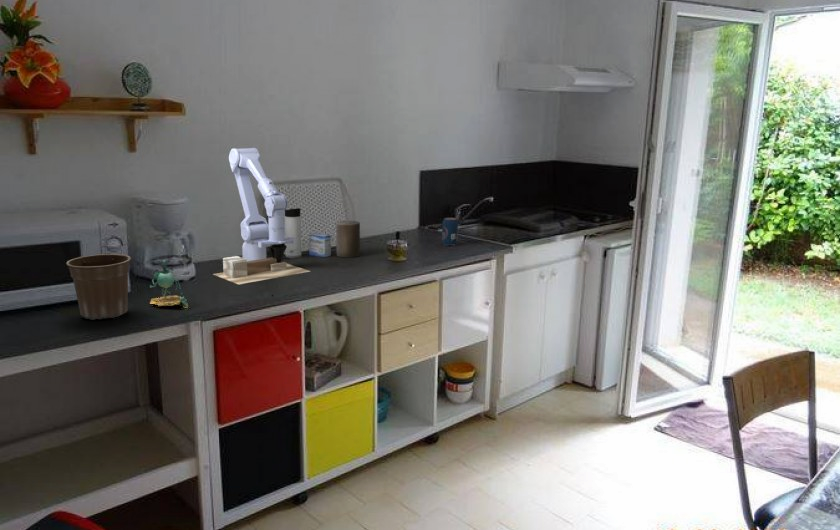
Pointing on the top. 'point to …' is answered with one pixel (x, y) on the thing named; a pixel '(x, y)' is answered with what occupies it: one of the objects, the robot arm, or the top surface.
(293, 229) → the travel mug
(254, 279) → the slat board
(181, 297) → the frog figurine
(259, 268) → the slat
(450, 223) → the soda can
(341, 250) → the pillar candle
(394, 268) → the top surface
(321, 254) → the medicine box
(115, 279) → the plant pot
